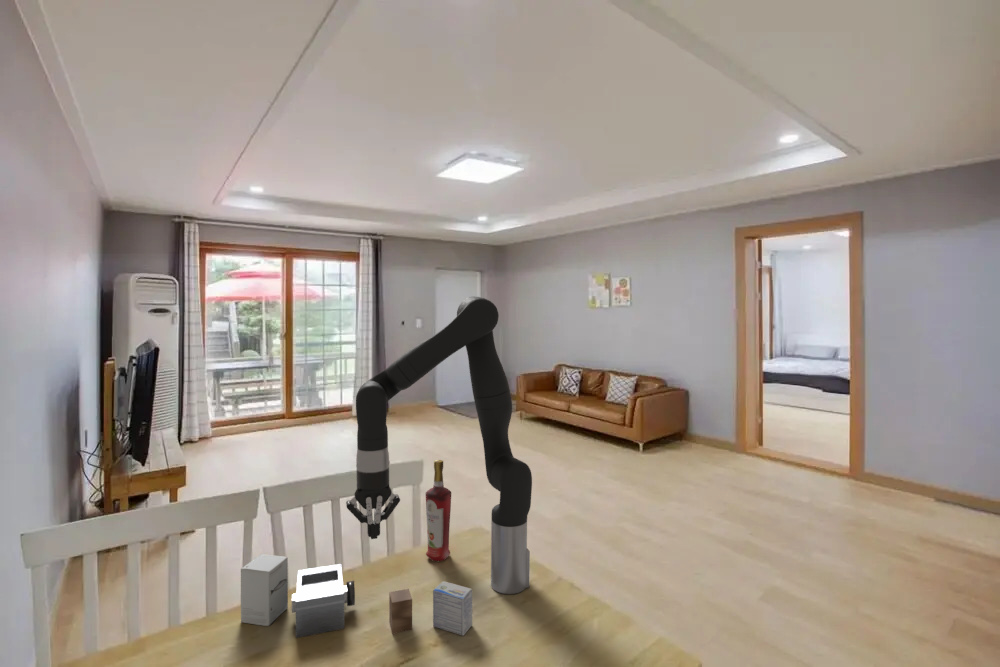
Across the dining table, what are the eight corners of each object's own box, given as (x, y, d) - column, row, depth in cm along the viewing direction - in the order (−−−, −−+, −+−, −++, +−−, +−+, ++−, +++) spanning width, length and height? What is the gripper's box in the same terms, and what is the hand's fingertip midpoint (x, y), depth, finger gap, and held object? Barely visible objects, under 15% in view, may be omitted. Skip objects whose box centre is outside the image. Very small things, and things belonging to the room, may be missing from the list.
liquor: (419, 559, 145) (420, 462, 143) (436, 549, 151) (436, 456, 149) (440, 566, 141) (440, 466, 139) (456, 555, 147) (456, 460, 146)
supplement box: (269, 627, 113) (268, 571, 113) (239, 622, 115) (239, 568, 114) (289, 608, 121) (288, 556, 120) (261, 604, 122) (260, 552, 121)
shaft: (353, 597, 123) (353, 576, 123) (354, 609, 118) (354, 587, 118) (292, 608, 118) (292, 586, 118) (291, 621, 113) (291, 598, 113)
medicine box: (472, 625, 115) (473, 588, 114) (463, 637, 111) (463, 598, 110) (442, 616, 118) (442, 580, 118) (432, 627, 114) (432, 589, 114)
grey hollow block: (341, 595, 126) (341, 563, 126) (344, 628, 113) (344, 593, 113) (298, 602, 123) (297, 570, 123) (295, 637, 110) (295, 601, 109)
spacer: (408, 618, 117) (408, 588, 117) (412, 629, 113) (412, 599, 113) (389, 622, 116) (389, 592, 115) (392, 633, 112) (392, 602, 111)
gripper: (398, 458, 126) (399, 527, 127) (342, 464, 122) (343, 535, 123) (403, 467, 119) (404, 540, 120) (344, 474, 115) (345, 549, 116)
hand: (373, 537), depth 121 cm, fingers closed
